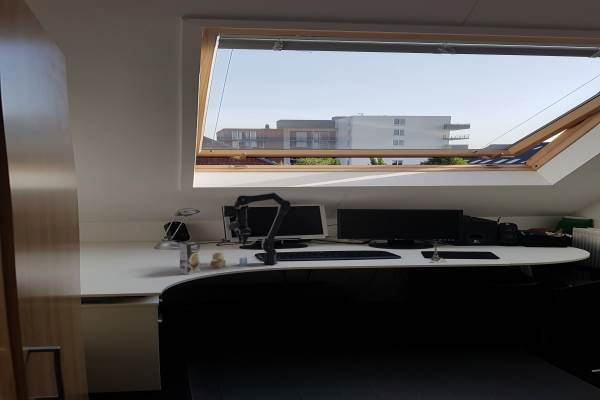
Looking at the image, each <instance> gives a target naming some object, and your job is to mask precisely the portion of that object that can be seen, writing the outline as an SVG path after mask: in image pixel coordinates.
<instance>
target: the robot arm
mask: <svg viewBox="0 0 600 400" xmlns="http://www.w3.org/2000/svg"><path fill="white" fill-rule="evenodd" d="M270 200H273V201H275V202H276V204H278V207H277V214H276V216H275V218H274V221H273V223H272V225H271V227H270V230H269V233H268V234H267V235H266V236H263V239H262V241H261V247H262V250H263V251H264V252H265V253H264V255H263V263H262V265H267V266H275V265H277V264H278V261H277V250H276V248H274V243H275V237H276V236H277V233H278V231H279V228H280V226H281V224H282V221H283V219H284V217H285V215H286V214H287V213H288V212H289V210H290V209H291V202H290V201H289V200H287V199H283V198H282V197H280V195H278V194H277V193H276V192H275V191H274V192H268V193H260V194H252V195H250V194H239V195H238V196H237V197H236V201H235V202H234V203H233V204H231V205H227V204H224V205H223V218H234V217H235V216H236V218H235V221H231V222H229V223H227V224H226V227H227V229H228V231H230V232H231V231H234V233H236V235H237V239H238V243H242V245H243V246H245V245H246V244H247V241H248V239H249V238H250V235H251V234H252V230H251V228H249V226H248V221H249V219H248V210H250V209H251V207H249V204H251V203H255V202H263V201H264V202H265V201H270Z"/></svg>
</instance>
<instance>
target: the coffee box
mask: <svg viewBox="0 0 600 400" xmlns="http://www.w3.org/2000/svg"><path fill="white" fill-rule="evenodd" d="M200 243H201V242H200V241H192V240H191V241H187V242H186V241H185V242H181V243H179V274H184V275H192V274H194V273H198V272H200V270H201V268H200V267H201V265H200V264H201V261H200V260H201V258H200V256H201V254H200V253H201V249H200V247H201V245H200Z"/></svg>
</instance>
